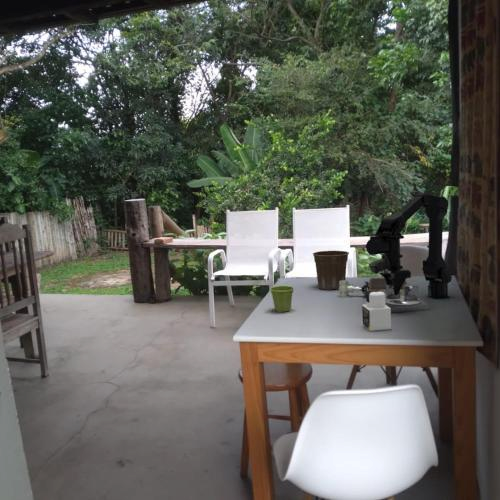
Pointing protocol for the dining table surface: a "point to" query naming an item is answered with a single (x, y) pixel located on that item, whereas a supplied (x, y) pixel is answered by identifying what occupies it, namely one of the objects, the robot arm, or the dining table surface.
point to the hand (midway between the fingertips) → (393, 293)
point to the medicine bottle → (376, 311)
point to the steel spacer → (391, 292)
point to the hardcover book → (381, 284)
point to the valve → (351, 288)
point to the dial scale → (406, 305)
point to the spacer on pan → (411, 292)
